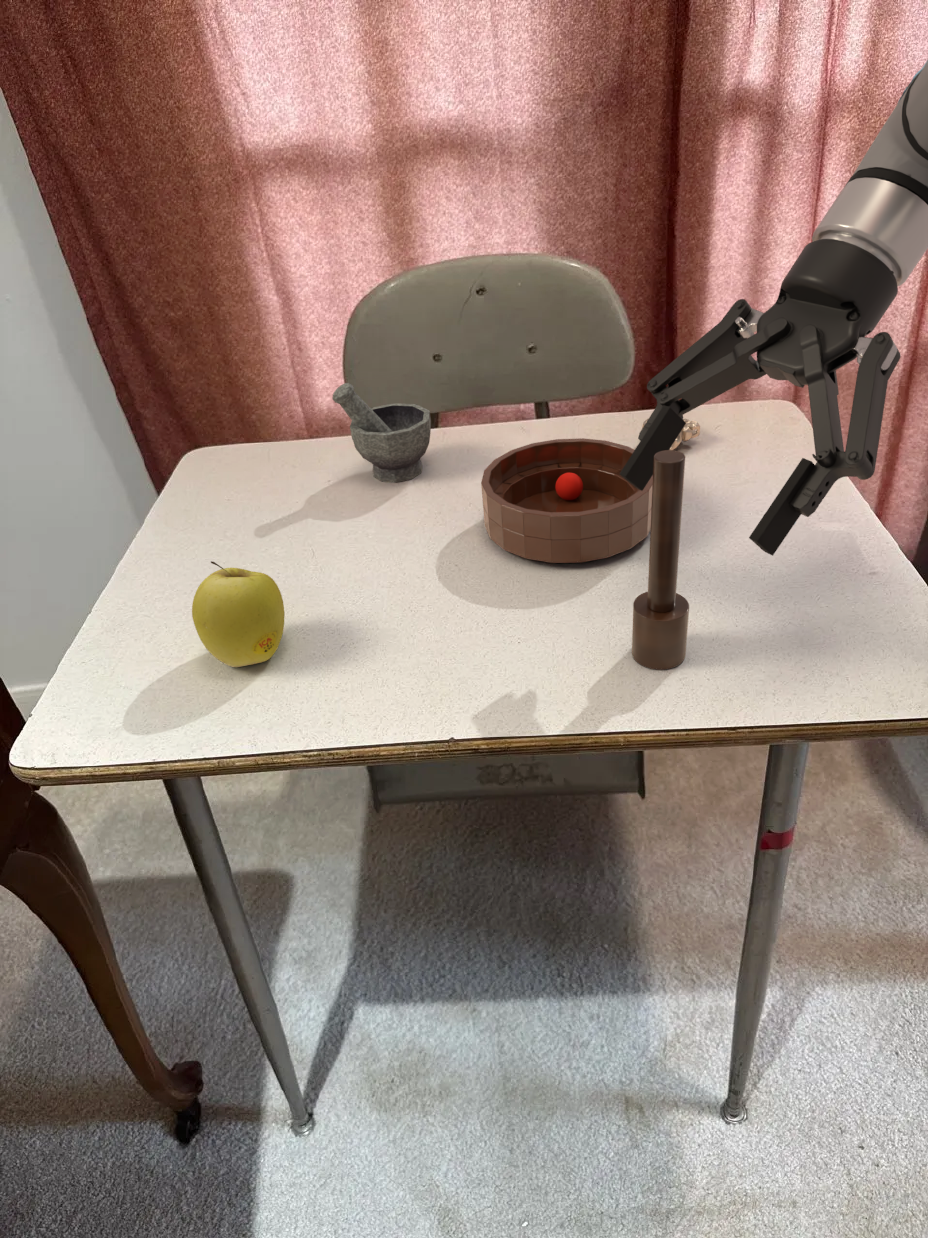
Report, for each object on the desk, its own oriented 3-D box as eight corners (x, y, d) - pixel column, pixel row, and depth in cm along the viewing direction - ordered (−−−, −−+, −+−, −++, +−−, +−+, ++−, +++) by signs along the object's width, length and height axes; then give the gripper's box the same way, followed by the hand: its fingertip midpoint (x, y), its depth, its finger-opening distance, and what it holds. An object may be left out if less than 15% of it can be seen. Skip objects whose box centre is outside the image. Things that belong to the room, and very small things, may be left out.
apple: (231, 689, 70) (186, 579, 66) (204, 669, 76) (163, 568, 73) (315, 650, 73) (277, 544, 70) (283, 634, 80) (246, 536, 77)
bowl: (658, 568, 81) (661, 514, 77) (477, 570, 83) (472, 517, 80) (648, 485, 95) (650, 435, 91) (494, 489, 98) (490, 441, 94)
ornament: (699, 457, 99) (701, 428, 97) (640, 456, 101) (641, 428, 99) (698, 429, 106) (700, 401, 104) (642, 429, 107) (643, 402, 105)
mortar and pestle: (426, 448, 108) (414, 357, 102) (446, 477, 101) (435, 380, 94) (341, 467, 106) (323, 374, 99) (355, 497, 99) (337, 400, 92)
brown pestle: (687, 670, 68) (704, 468, 58) (632, 669, 69) (639, 470, 58) (682, 637, 72) (698, 442, 61) (630, 637, 72) (636, 444, 62)
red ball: (583, 504, 91) (582, 479, 89) (555, 505, 91) (554, 480, 90) (583, 491, 93) (583, 467, 92) (556, 492, 94) (555, 468, 92)
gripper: (1037, 327, 55) (847, 598, 58) (743, 269, 73) (609, 479, 76) (1014, 258, 50) (807, 560, 53) (704, 214, 68) (561, 441, 71)
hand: (690, 512), depth 64 cm, fingers open, 13 cm apart
